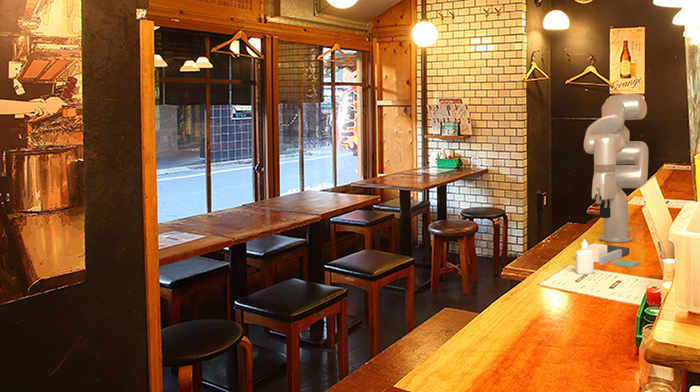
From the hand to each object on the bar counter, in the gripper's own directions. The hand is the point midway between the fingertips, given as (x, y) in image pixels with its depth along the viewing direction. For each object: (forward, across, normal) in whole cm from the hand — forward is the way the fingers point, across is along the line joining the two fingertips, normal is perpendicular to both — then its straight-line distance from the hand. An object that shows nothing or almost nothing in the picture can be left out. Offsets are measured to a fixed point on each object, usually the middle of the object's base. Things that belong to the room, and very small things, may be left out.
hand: (605, 217), depth 223 cm
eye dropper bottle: (+15, +24, +6) cm, 30 cm away
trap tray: (+15, -6, 0) cm, 16 cm away
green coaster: (+15, +6, +11) cm, 19 cm away
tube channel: (+15, +4, 0) cm, 16 cm away
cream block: (+15, +6, 0) cm, 16 cm away
